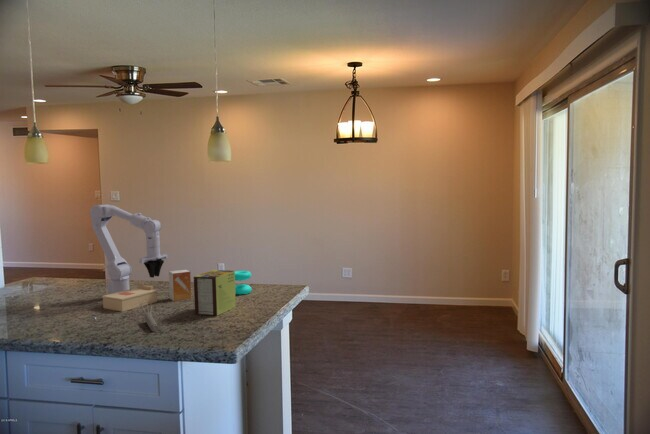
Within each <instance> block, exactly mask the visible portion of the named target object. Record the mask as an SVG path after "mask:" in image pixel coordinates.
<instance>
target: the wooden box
mask: <svg viewBox="0 0 650 434" xmlns="http://www.w3.org/2000/svg"><path fill="white" fill-rule="evenodd" d="M157 292H158V291H157ZM157 292H153V293H149V294H145V295H141V296H137V297H133V298H129V299H125V300H116V299H110V298H103V297H102V307H103V309H106V310H111V311H118V312H126V311H128V310H132V309H137V308H141V307H142V306H143V307H144V305H145V306H147V305H152V304H154V303H157V302H158V294H157ZM144 299H145V300H144ZM139 301H140V302H139ZM142 301H143V302H142ZM146 301H147V302H149V303H146ZM140 303H142V306H141V305H140ZM143 303H144V304H143ZM134 304H135V305H134ZM139 305H140V306H141V307H140V306H139ZM136 307H137V308H136Z"/></svg>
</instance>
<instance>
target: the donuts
mask: <svg viewBox="0 0 650 434" xmlns="http://www.w3.org/2000/svg"><path fill="white" fill-rule="evenodd" d="M234 271H235V282H236V281H239V282H240V281H242V282H243V281H246V280H249V279H250V278H251V277H252V273H251V271H249V270H234ZM252 291H253V289H252V287H251V286H250V285H249V284H246V283H245V284H235V296H241V295H242V294H244V295H248V294H250V293H252Z"/></svg>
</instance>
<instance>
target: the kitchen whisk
mask: <svg viewBox="0 0 650 434" xmlns="http://www.w3.org/2000/svg"><path fill="white" fill-rule="evenodd" d="M144 300H145V299H144ZM139 302H140V301H139ZM142 302H143V301H142ZM146 303H149V302H147V301H146ZM143 304H144V303H143ZM134 305H135V304H134ZM140 305H141V306H140ZM140 305H139V306H140V307H139V309H138V307H136V308H135V309H138V312H139V313H141V314H143V315H140V314H138V313H137V312H136V311H134V313H135V314H136V315H138V316H140V317H142V318H143V319H144V320H145V322H146V324H147V325H148V327H149V330H150V331H151V332H153V333H158V331H159V326H158V324H157V322H156V320H155V318H154V317H153V315H152V309H153V308H152V305H150V306H151V307H149V304H147V305H144V306H145V307H146V308H147V309H148V310H150V312H149V311H147V312H148V313H147V312H146V310H145V308H144V306H142V303H140ZM141 307H142V310H143V312H144V313H145V314H144V313H143V312H142V311H141V310H140V309H141Z"/></svg>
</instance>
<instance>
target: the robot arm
mask: <svg viewBox="0 0 650 434" xmlns="http://www.w3.org/2000/svg"><path fill="white" fill-rule="evenodd" d="M142 214H143V213H141V212H138V213H137V212H136V213H134V214H133V213H131V212H128V211H126V210H124V209H122V208H121V207H118V206H116V205H112V204H111V203H106V204H94V205H93V206H92V207H91V208H90V211H89V213H88V215H89V217H90V218H91V227H92V230H93V232H94V234H95V236H96V239H97V240H98V242H99V243H98V244H100V246H101V248H102V250H103V253H104V255H105V258H106V259H107V261H108V263H107V266H106V268H107V271H108V273H107V274H108V276H109V278H110V280H108V282H107V295H108V294H112V293H116V292H120V291H125V290H129V289H130V275H132V272H133V271H132V270H133V269H132V266H131V264H129V263H128V262H127V260H126V258H123V257H122V256H121V254H120V252H119V250H118V248H117V245H116V244H115V242H114V240H113V238H112V236H111V233H110V232H109V230H108V228H107V225H108V223H109V222H110V220H111V219H112V218H113V217H117V218H118V219H119V218H120V219H122V220H125V221H128V222H129V223H130V225H131V226H132V227H133V226H134V227H135V228H138V229H140V230H142V231H144V233H145V240H146V243H145V244H146V256H144V257H140V258H139V259H138V260H139V261H138V262H139V264H144V266H145V268H146V269H147V273H148V275H149V278H155V277H159V276H160V273H161V269H162V267H163V264H164V262H165V259H169V258H168V256H169V255H168V254H166V253H164V254H163V253H162V254H161V242H160V240H161V239H160V237H161V236H160V231H161V230H162V223H161V221H159V220H158V219H156V218H154V219H152V218H151V217H149V216H148V217H147V216H144V215H142Z"/></svg>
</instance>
